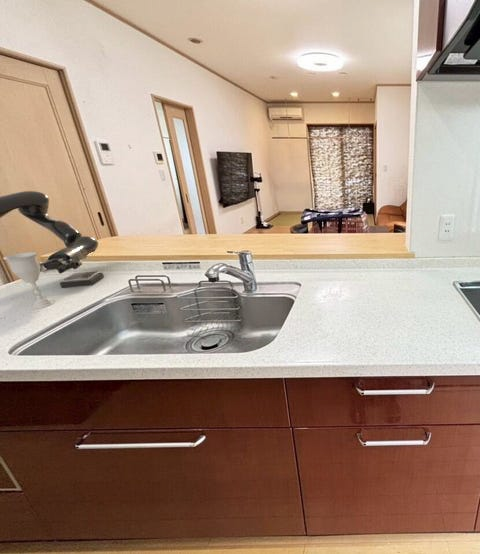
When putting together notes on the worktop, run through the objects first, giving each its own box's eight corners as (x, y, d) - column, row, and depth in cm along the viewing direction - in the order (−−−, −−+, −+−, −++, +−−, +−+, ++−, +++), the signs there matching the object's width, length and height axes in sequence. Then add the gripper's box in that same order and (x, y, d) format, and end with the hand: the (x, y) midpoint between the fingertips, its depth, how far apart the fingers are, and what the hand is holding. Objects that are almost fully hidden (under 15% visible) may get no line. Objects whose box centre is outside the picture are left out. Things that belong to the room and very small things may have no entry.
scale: (61, 288, 115) (58, 281, 114) (75, 279, 123) (73, 272, 122) (92, 285, 118) (89, 278, 117) (104, 277, 126) (101, 270, 125)
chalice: (58, 298, 107) (37, 251, 100) (58, 304, 102) (36, 255, 96) (28, 305, 102) (4, 255, 95) (27, 311, 98) (1, 260, 91)
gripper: (39, 251, 115) (11, 265, 101) (85, 247, 120) (65, 260, 106) (47, 269, 118) (21, 284, 104) (92, 265, 123) (73, 279, 109)
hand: (43, 272), depth 105 cm, fingers open, 8 cm apart
